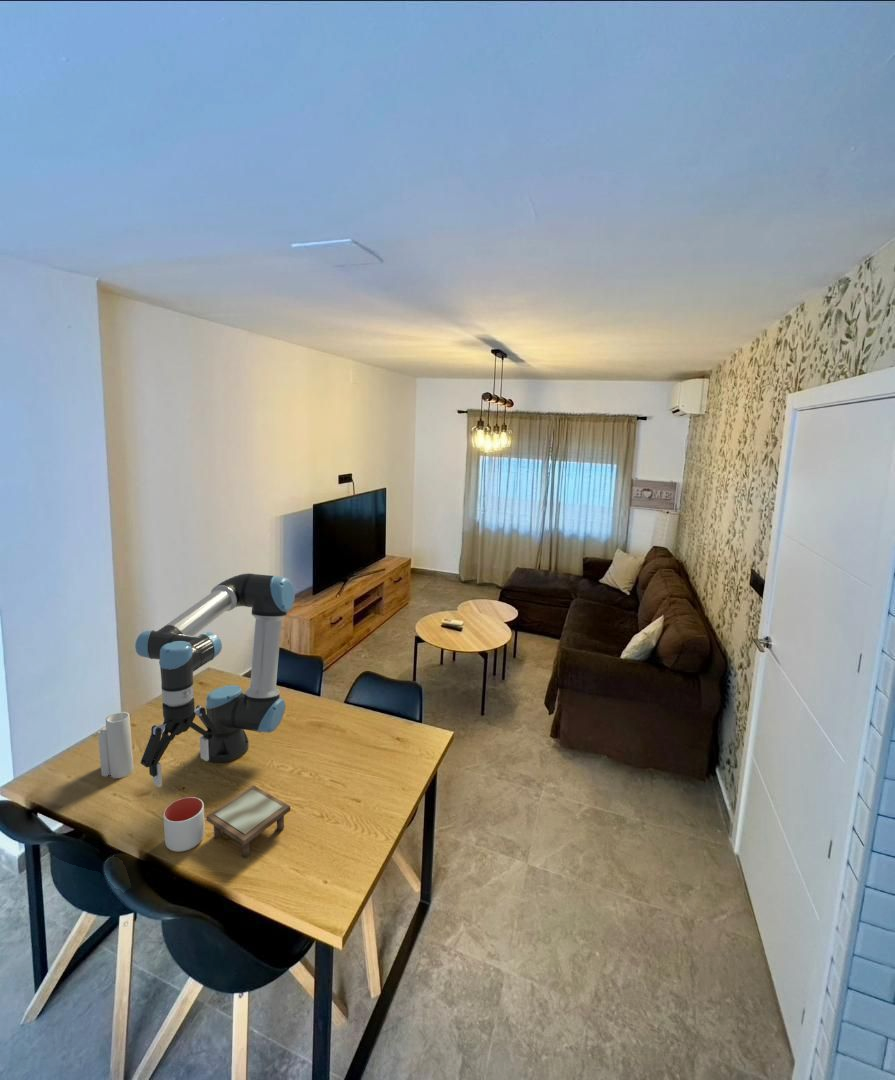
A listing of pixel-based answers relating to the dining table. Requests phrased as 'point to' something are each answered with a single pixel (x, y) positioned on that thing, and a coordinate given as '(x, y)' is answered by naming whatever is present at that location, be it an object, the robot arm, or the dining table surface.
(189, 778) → the dining table surface
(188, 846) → the cup
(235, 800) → the footstool
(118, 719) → the vase
